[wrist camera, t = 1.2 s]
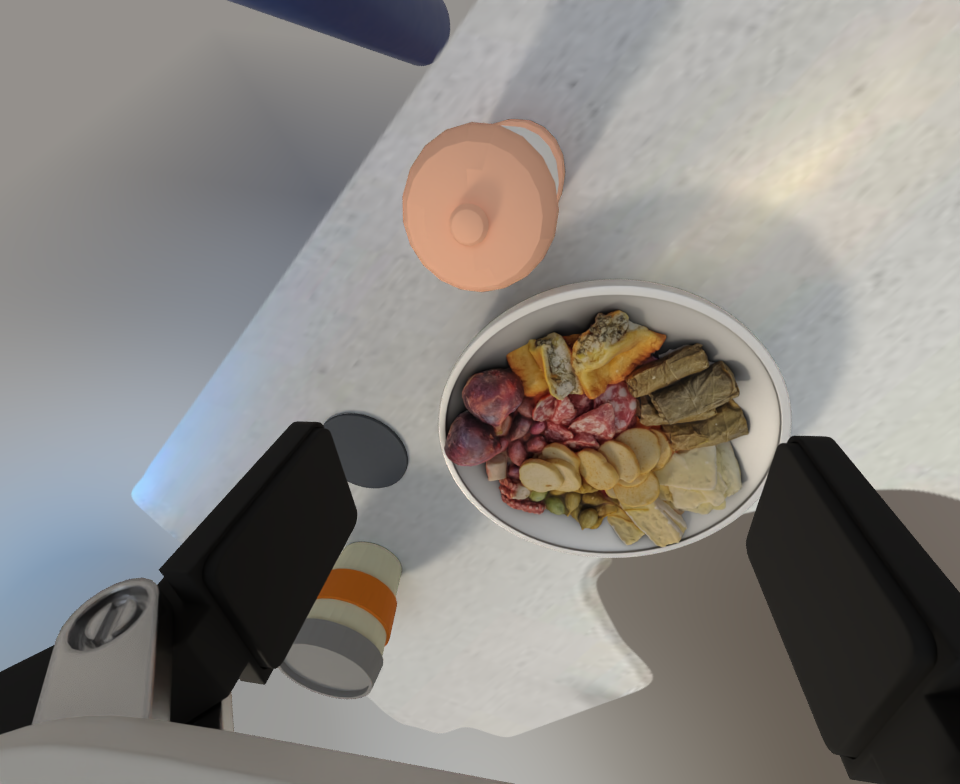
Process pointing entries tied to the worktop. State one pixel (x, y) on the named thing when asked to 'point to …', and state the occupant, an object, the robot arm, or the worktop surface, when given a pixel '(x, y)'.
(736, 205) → the worktop surface
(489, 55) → the worktop surface
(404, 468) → the coaster
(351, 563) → the reusable coffee cup
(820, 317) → the worktop surface
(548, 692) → the worktop surface
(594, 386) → the bowl
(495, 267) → the salt shaker
